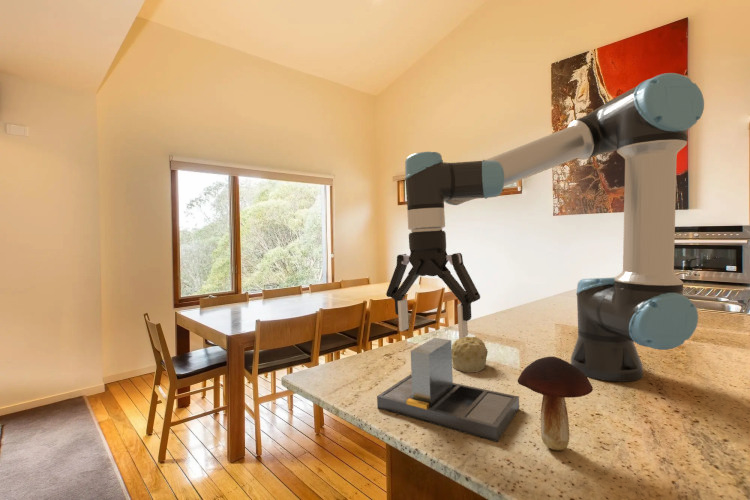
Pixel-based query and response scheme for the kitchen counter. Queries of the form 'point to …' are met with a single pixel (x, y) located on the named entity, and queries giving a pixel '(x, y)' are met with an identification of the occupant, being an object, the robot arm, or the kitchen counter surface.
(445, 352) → the panel
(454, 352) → the decorative item
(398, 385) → the rack
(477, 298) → the robot arm
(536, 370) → the decorative mushroom
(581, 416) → the kitchen counter surface
